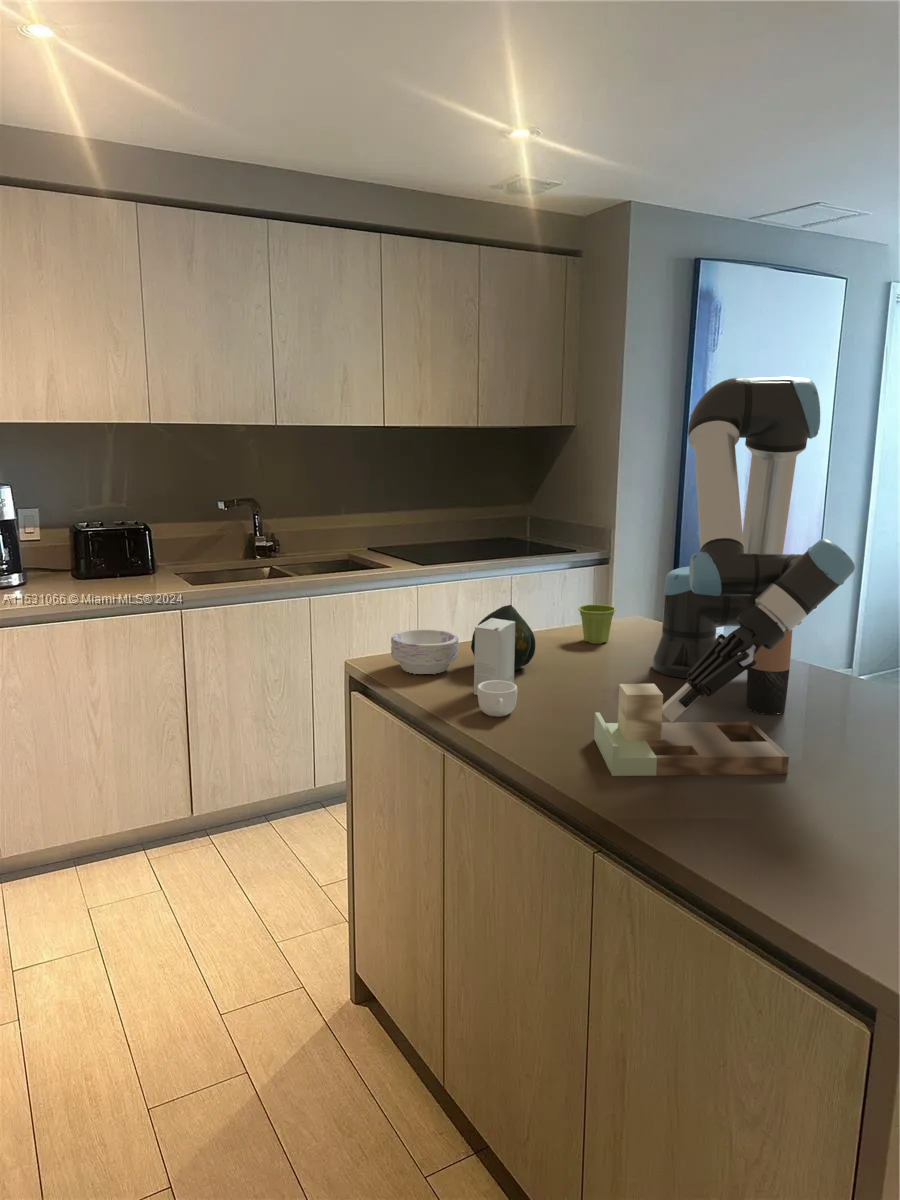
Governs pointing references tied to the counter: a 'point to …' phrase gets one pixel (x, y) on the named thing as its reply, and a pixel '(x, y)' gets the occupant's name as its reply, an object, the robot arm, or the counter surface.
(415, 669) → the paper bowls
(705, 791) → the counter surface
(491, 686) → the teacup
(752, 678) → the travel mug
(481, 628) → the skincare box
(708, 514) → the robot arm
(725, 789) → the counter surface
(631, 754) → the pad
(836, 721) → the counter surface
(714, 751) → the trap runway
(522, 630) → the squash
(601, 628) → the plant pot
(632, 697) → the maple block
